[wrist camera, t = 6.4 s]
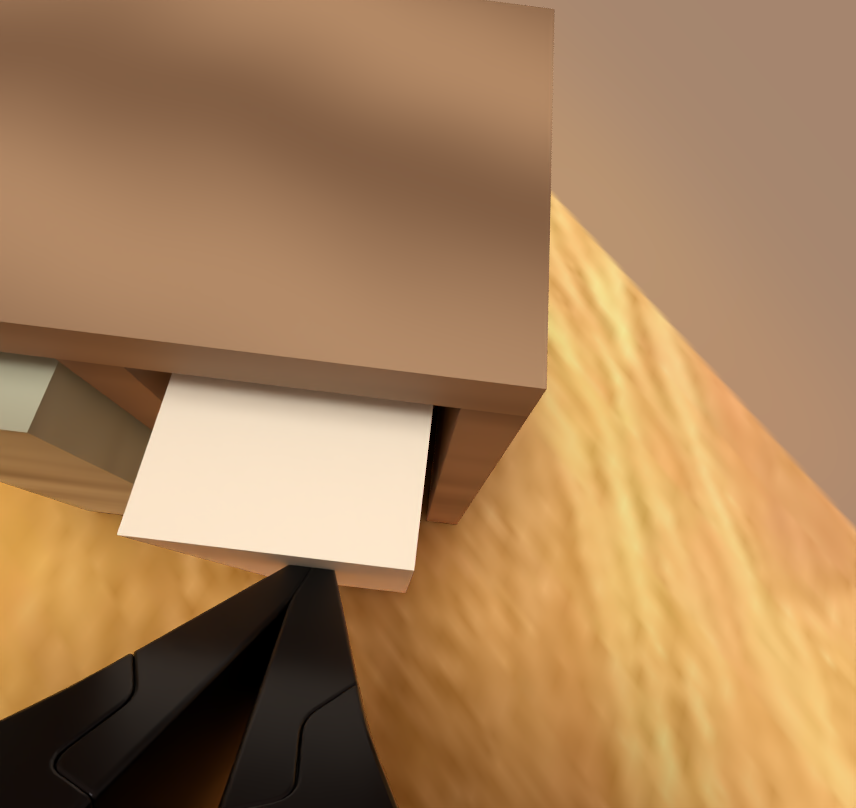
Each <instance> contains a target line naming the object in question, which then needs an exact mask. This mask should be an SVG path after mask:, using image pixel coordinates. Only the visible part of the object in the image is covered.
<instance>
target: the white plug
mask: <svg viewBox="0 0 856 808" xmlns="http://www.w3.org/2000/svg"><path fill="white" fill-rule="evenodd" d="M432 411H433V405H429V404H421V403H413V402H404V401H396V400H388V399H380V398H372V397H364V396H356V395H348V394H339V393H331V392H323V391H315V390H307V389H299V388H291V387H283V386H274V385H266V384H258V383H250V382H242V381H234V380H226V379H218V378H209V377H201V376H193V375H185V374H177V373H172V375H171V378H170V381H169V384H168V387H167V390H166V393H165V395H164V398H163V401H162V404H161V407H160V410H159V413H158V416H157V419H156V422H155V425H154V428H153V431H152V433H151V436H150V439H149V442H148V445H147V448H146V451H145V454H144V457H143V460H142V463H141V466H140V469H139V471H138V474H137V477H136V480H135V483H134V486H133V489H132V492H131V495H130V498H129V501H128V504H127V507H126V509H125V512H124V515H123V518H122V521H121V524H120V527H119V530H118V533H117V535H119V536H123V537H126V538H130V539H134V540H137V541H141V542H145V543H148V544H152V545H156V546H159V547H163V548H166V549H170V550H174V551H177V552H181V553H185V554H188V555H192V556H196V557H199V558H203V559H206V560H210V561H214V562H217V563H221V564H225V565H228V566H232V567H236V568H239V569H243V570H246V571H250V572H254V573H257V574H261V575H265V576H269V575H271V574H273V573H275V572H277V571H278V570H280V569H282V568H284V567H285V566H287V565H297V566H305V567H312V568H321V569H330V570H335V574H336V578H337V583H338V585H342V586H351V587H359V588H367V589H376V590H384V591H392V592H401V593H406V591H407V588H408V585H409V583H410V580H411V578H412V575H413V572H414V567H415V559H416V550H417V541H418V533H419V524H420V515H421V507H422V498H423V489H424V481H425V472H426V463H427V455H428V446H429V437H430V428H431V420H432Z"/></svg>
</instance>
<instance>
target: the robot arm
mask: <svg viewBox="0 0 856 808" xmlns="http://www.w3.org/2000/svg"><path fill="white" fill-rule="evenodd" d="M0 808H399V807H398V805H397V802H396V800H395V797H394V795H393V792H392V790H391V787H390V784H389V782H388V779H387V777H386V774H385V772H384V769H383V766H382V764H381V761H380V759H379V756H378V753H377V750H376V747H375V744H374V741H373V738H372V735H371V732H370V729H369V725H368V721H367V717H366V713H365V710H364V706H363V701H362V696H361V692H360V687H359V686H358V680H357V675H356V670H355V665H354V661H353V656H352V651H351V646H350V641H349V636H348V632H347V627H346V622H345V617H344V612H343V607H342V603H341V598H340V593H339V588H338V583H337V578H336V574H335V570H330V569H321V568H312V567H305V566H297V565H287V566H285V567H284V568H282V569H280V570H278V571H277V572H275V573H273V574H271V575H269V576H268V577H266V578H264V579H262V580H261V581H259V582H257V583H255V584H254V585H252V586H250V587H248V588H246V589H245V590H243V591H241V592H239V593H238V594H236V595H234V596H232V597H231V598H229V599H227V600H225V601H223V602H222V603H220V604H218V605H216V606H215V607H213V608H211V609H209V610H208V611H206V612H204V613H202V614H200V615H199V616H197V617H195V618H193V619H192V620H190V621H188V622H186V623H185V624H183V625H181V626H179V627H177V628H176V629H174V630H172V631H170V632H169V633H167V634H165V635H163V636H162V637H160V638H158V639H156V640H154V641H153V642H151V643H149V644H147V645H146V646H144V647H142V648H140V649H139V650H137V651H135V652H134V654H133V655H132V654H128V655H126V656H125V657H123V658H121V659H119V660H117V661H116V662H114V663H112V664H110V665H109V666H107V667H105V668H103V669H101V670H99V671H97V672H96V673H94V674H92V675H90V676H88V677H86V678H84V679H83V680H81V681H79V682H77V683H75V684H73V685H71V686H70V687H68V688H66V689H64V690H62V691H60V692H58V693H56V694H54V695H52V696H49V697H47V698H45V699H43V700H41V701H39V702H37V703H35V704H33V705H31V706H29V707H27V708H25V709H23V710H21V711H19V712H17V713H15V714H13V715H11V716H9V717H7V718H4V719H2V720H0Z"/></svg>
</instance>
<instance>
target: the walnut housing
mask: <svg viewBox="0 0 856 808" xmlns="http://www.w3.org/2000/svg"><path fill="white" fill-rule="evenodd" d="M553 51H554V9H549V8H541V7H533V6H526V5H518V4H510V3H503V2H495V1H487V0H0V482H2V483H6V484H9V485H12V486H15V487H18V488H21V489H24V490H27V491H30V492H33V493H36V494H39V495H42V496H45V497H48V498H51V499H54V500H57V501H60V502H63V503H67V504H70V505H73V506H76V507H79V508H82V509H85V510H88V511H95V512H104V513H112V514H120V515H124V512H125V509H126V507H127V504H128V501H129V498H130V495H131V492H132V489H133V486H134V483H135V480H136V477H137V474H138V471H139V469H140V466H141V463H142V460H143V457H144V454H145V451H146V448H147V445H148V442H149V439H150V436H151V433H152V431H153V428H154V425H155V422H156V419H157V416H158V413H159V410H160V407H161V404H162V401H163V398H164V395H165V393H166V390H167V387H168V384H169V381H170V378H171V375H172V373H177V374H185V375H193V376H201V377H209V378H218V379H226V380H234V381H242V382H250V383H258V384H266V385H274V386H283V387H291V388H299V389H307V390H315V391H323V392H331V393H339V394H348V395H356V396H364V397H372V398H380V399H388V400H396V401H404V402H413V403H421V404H429V405H437V406H439V411H438V420H437V429H436V438H435V447H434V456H433V466H432V475H431V484H430V493H429V502H428V511H427V520H426V521H432V522H440V523H448V524H457V523H458V522H459V520H460V519H461V517H462V516H463V514H464V513H465V511H466V510H467V508H468V507H469V505H470V503H471V502H472V500H473V499H474V497H475V496H476V494H477V493H478V491H479V490H480V488H481V487H482V485H483V484H484V482H485V481H486V479H487V478H488V476H489V475H490V473H491V472H492V470H493V469H494V467H495V466H496V464H497V463H498V461H499V460H500V458H501V457H502V455H503V454H504V452H505V451H506V449H507V448H508V446H509V445H510V443H511V442H512V440H513V439H514V437H515V436H516V434H517V433H518V431H519V430H520V428H521V427H522V425H523V424H524V422H525V421H526V419H527V418H528V416H529V415H530V413H531V412H532V410H533V409H534V407H535V406H536V404H537V403H538V401H539V400H540V398H541V396H542V395H543V393H544V392H545V390H546V387H547V340H548V292H549V245H550V197H551V148H552V102H553V54H554V53H553Z"/></svg>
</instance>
